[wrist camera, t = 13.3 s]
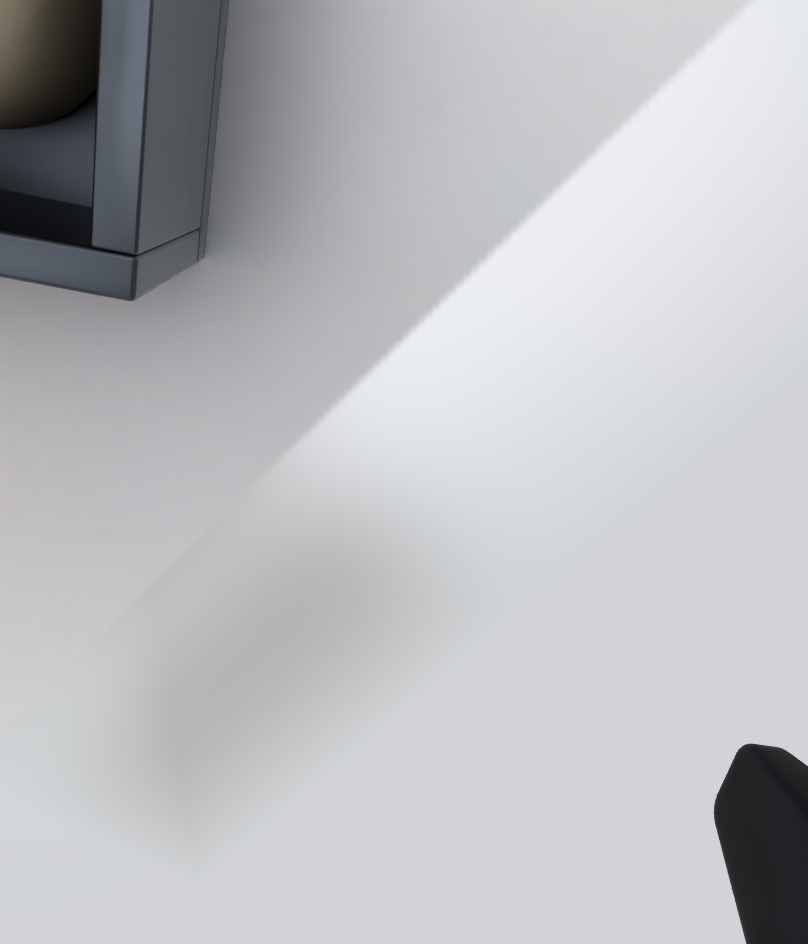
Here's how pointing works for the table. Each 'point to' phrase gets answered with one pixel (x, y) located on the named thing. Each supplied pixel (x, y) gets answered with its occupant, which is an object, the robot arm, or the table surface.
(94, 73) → the candle
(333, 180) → the table surface
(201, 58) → the open box
